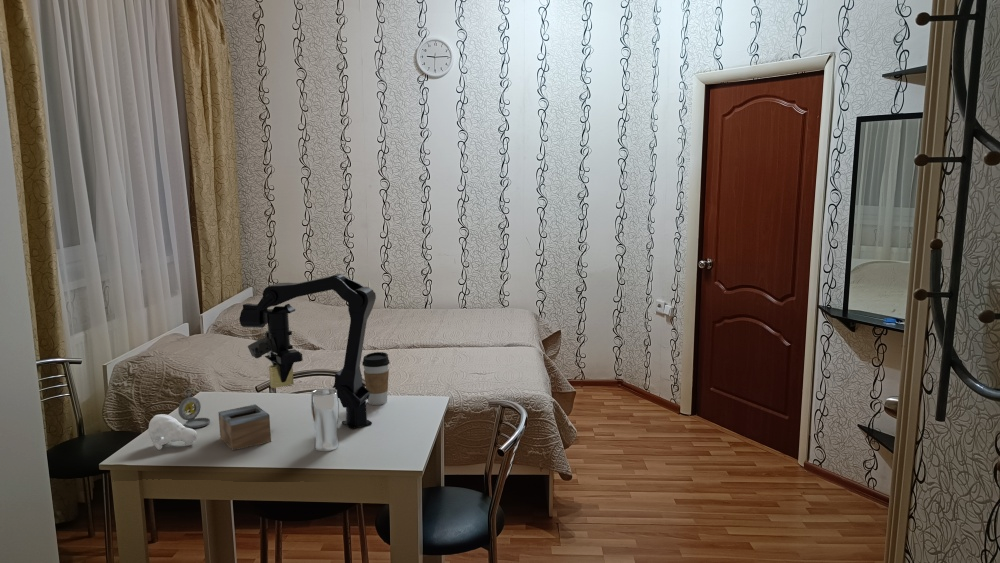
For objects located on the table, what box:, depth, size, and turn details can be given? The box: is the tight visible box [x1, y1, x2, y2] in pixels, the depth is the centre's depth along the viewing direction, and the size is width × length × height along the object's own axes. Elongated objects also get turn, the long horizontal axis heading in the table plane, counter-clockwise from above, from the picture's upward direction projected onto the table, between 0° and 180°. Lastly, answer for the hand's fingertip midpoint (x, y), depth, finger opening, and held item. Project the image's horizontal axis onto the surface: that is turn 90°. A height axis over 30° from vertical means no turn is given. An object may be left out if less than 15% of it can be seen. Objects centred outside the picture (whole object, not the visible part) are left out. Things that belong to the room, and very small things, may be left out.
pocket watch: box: [177, 388, 211, 429], centre depth 209 cm, size 8×8×10 cm
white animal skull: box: [147, 413, 198, 451], centre depth 193 cm, size 6×8×12 cm
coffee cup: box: [361, 351, 390, 406], centre depth 226 cm, size 8×8×15 cm
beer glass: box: [310, 387, 340, 452], centre depth 189 cm, size 7×7×15 cm
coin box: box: [217, 404, 272, 451], centre depth 196 cm, size 11×10×8 cm
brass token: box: [268, 364, 294, 389], centre depth 209 cm, size 2×6×6 cm, turn 127°
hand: (281, 381), depth 209 cm, fingers closed on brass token, 2 cm apart
